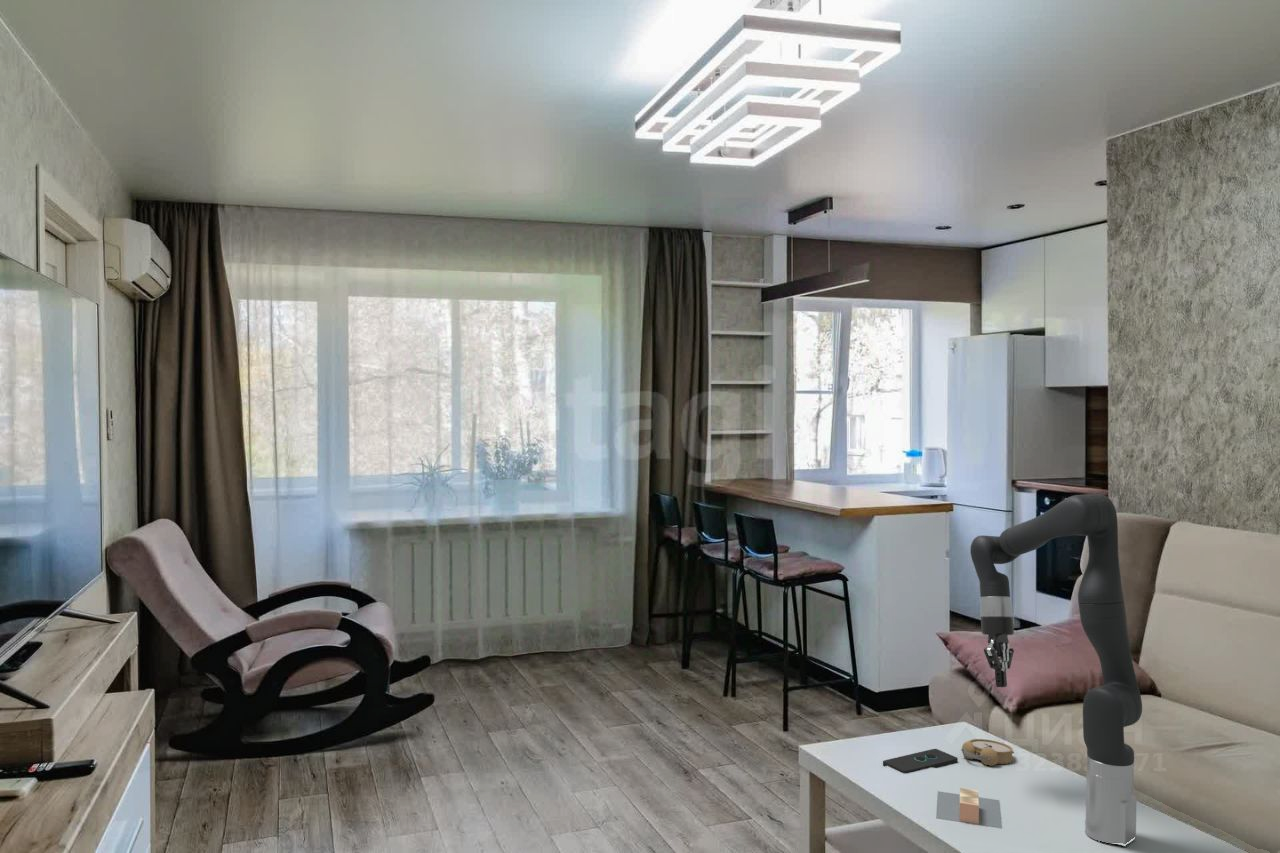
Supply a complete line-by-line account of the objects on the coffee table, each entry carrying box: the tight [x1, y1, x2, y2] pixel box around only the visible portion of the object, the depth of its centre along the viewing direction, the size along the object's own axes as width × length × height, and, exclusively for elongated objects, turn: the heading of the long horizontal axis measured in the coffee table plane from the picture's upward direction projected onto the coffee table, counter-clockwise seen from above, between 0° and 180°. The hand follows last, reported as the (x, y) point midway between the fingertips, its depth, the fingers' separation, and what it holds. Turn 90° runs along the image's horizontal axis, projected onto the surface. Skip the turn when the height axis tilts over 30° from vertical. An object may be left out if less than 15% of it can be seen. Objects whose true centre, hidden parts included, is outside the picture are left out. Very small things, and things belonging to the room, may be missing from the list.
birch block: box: [959, 787, 979, 825], centre depth 211 cm, size 4×4×9 cm
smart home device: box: [882, 748, 958, 774], centre depth 243 cm, size 8×2×20 cm
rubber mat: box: [935, 790, 1003, 829], centre depth 214 cm, size 14×16×1 cm
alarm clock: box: [960, 738, 1015, 767], centre depth 247 cm, size 11×5×15 cm
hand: (1001, 686), depth 227 cm, fingers closed
